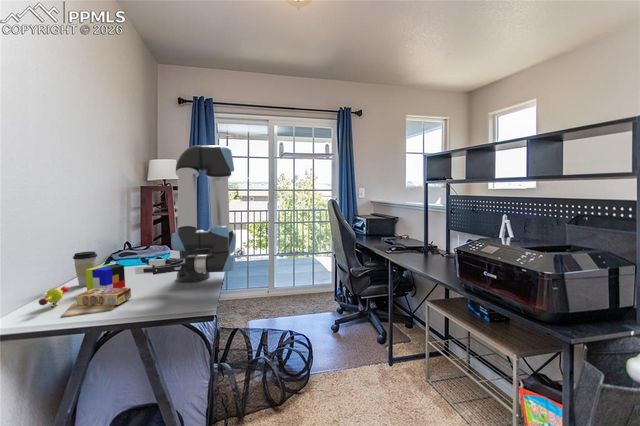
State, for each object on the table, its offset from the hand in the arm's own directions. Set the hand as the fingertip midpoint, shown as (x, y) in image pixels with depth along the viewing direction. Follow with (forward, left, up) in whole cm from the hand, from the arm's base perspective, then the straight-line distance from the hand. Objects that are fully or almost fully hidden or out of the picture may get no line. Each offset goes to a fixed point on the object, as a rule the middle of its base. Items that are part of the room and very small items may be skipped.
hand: (142, 266), depth 133 cm
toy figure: (+30, -1, -12) cm, 32 cm away
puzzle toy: (+16, -18, -12) cm, 27 cm away
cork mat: (+16, +8, -12) cm, 22 cm away
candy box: (+6, +7, -9) cm, 13 cm away
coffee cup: (+26, -32, -12) cm, 43 cm away
